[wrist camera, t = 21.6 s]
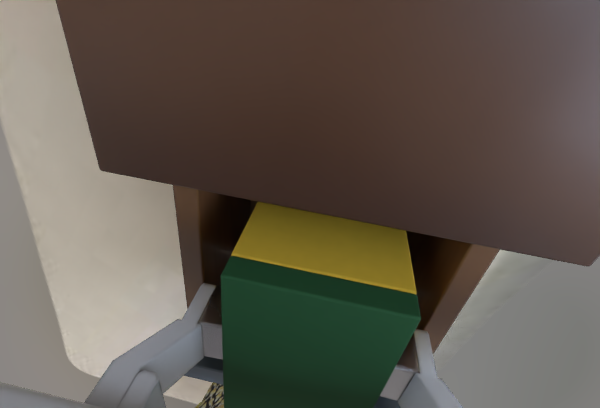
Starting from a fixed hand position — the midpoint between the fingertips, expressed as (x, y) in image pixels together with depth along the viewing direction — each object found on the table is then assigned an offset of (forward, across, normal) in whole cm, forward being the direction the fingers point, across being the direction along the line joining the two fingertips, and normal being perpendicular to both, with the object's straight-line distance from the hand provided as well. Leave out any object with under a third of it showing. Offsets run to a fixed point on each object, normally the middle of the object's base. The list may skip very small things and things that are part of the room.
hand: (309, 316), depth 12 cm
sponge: (+2, 0, 0) cm, 2 cm away
